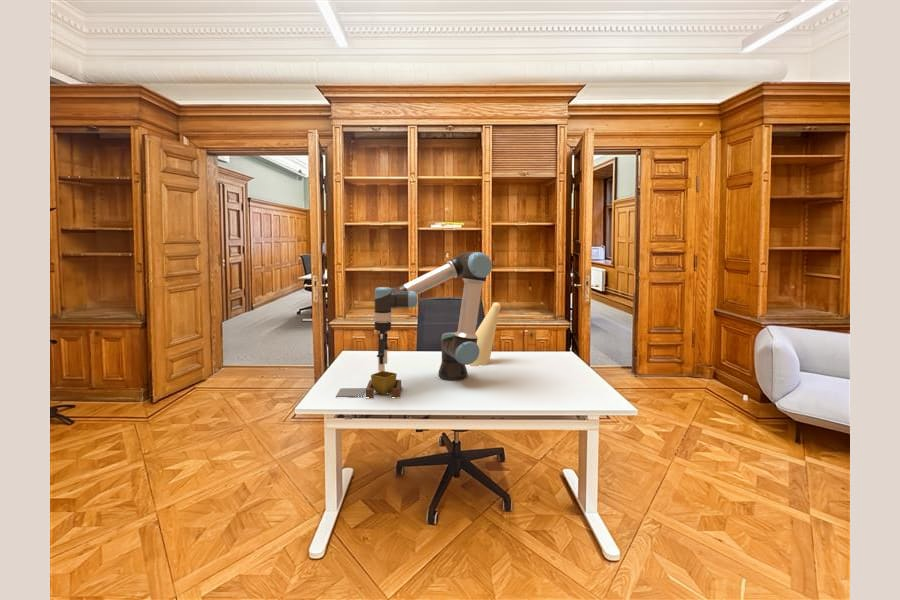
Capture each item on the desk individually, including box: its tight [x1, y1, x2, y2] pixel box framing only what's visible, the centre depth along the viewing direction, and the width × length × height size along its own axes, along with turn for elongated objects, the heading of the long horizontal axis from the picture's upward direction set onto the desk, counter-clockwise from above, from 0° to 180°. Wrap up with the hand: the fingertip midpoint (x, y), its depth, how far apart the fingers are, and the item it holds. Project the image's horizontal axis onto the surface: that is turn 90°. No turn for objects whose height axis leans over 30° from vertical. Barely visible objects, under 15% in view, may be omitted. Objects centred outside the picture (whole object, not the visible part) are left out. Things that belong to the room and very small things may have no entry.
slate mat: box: [335, 387, 367, 398], centre depth 230 cm, size 12×12×1 cm
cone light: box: [468, 302, 502, 367], centre depth 285 cm, size 25×18×35 cm
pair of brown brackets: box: [365, 379, 402, 399], centre depth 230 cm, size 15×15×4 cm
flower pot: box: [370, 370, 397, 395], centre depth 230 cm, size 9×9×9 cm
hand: (382, 367), depth 229 cm, fingers open, 13 cm apart
